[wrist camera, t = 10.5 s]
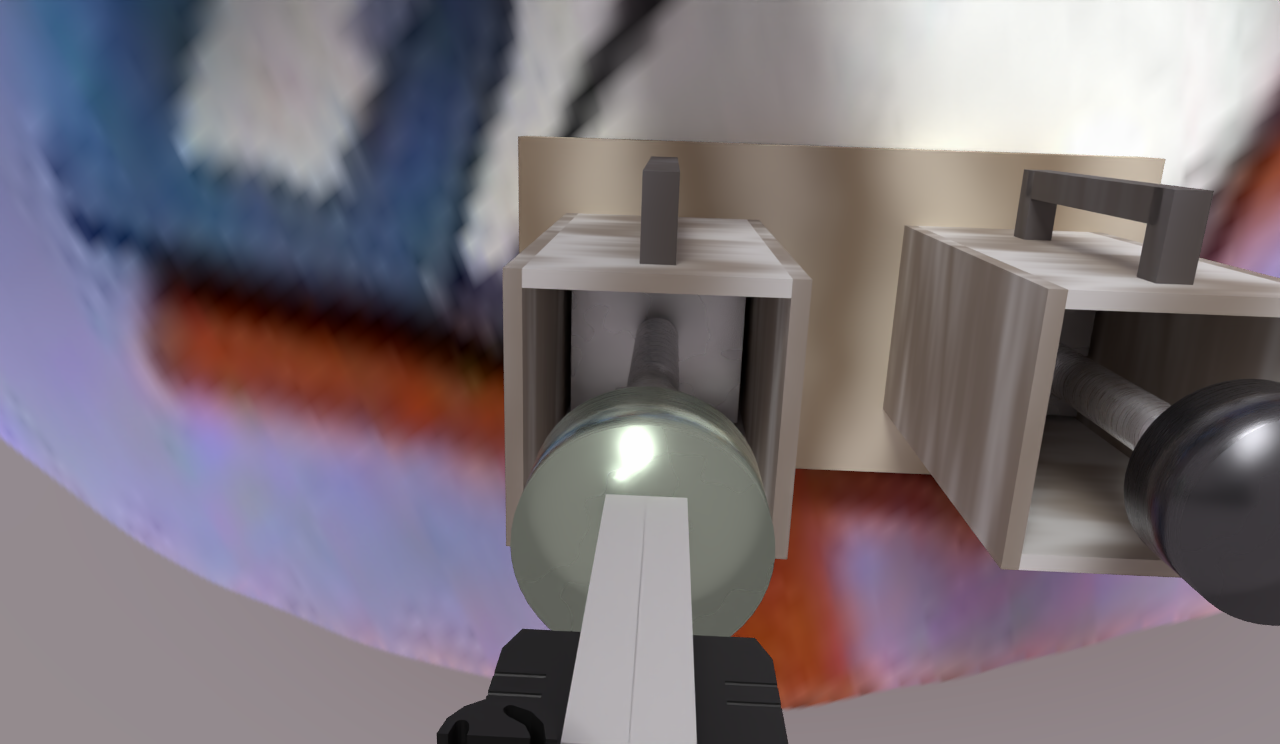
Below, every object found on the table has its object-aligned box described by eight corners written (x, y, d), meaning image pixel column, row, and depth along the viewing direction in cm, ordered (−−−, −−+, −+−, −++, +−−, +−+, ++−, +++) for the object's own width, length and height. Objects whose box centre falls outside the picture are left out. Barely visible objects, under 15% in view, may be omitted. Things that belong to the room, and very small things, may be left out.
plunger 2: (913, 403, 36) (1120, 645, 19) (932, 250, 34) (1180, 373, 17) (1067, 409, 35) (1410, 659, 19) (1095, 256, 34) (1503, 386, 17)
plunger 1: (573, 409, 34) (477, 687, 17) (574, 246, 32) (469, 381, 15) (735, 416, 33) (798, 703, 17) (746, 253, 32) (828, 396, 15)
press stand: (527, 440, 41) (440, 634, 25) (526, 135, 37) (421, 145, 21) (1079, 464, 40) (1334, 678, 25) (1139, 157, 36) (1487, 183, 21)
